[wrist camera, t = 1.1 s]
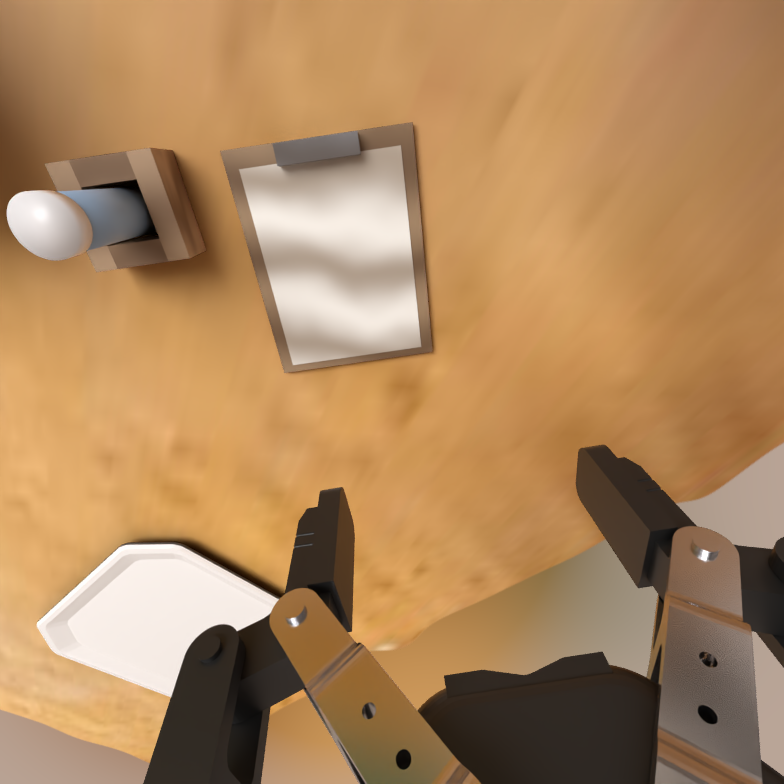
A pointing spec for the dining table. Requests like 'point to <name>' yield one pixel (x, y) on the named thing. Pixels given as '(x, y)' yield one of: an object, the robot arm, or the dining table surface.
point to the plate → (150, 611)
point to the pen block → (159, 193)
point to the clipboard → (336, 244)
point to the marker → (77, 220)
